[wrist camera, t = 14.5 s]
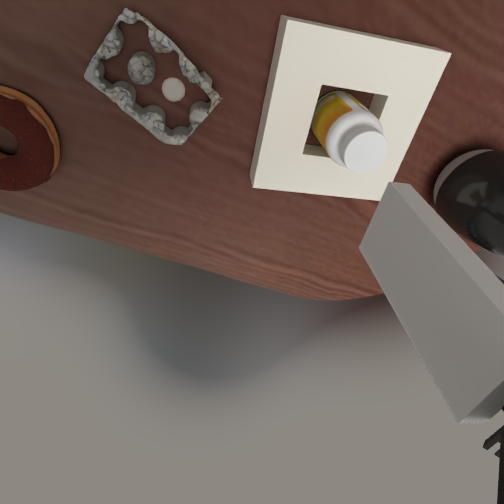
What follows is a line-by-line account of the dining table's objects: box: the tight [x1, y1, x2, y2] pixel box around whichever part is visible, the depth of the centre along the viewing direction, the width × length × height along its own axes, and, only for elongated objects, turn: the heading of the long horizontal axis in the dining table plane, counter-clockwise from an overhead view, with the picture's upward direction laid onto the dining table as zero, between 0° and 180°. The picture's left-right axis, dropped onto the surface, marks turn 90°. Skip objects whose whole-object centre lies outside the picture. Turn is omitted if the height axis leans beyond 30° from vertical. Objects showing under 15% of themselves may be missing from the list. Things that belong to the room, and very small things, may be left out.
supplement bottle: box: [311, 91, 388, 174], centre depth 36 cm, size 5×5×10 cm
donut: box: [0, 86, 60, 191], centre depth 35 cm, size 10×10×4 cm
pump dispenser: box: [434, 149, 504, 257], centre depth 41 cm, size 10×10×15 cm
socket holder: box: [250, 15, 452, 201], centre depth 39 cm, size 16×16×3 cm
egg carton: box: [84, 8, 222, 145], centre depth 34 cm, size 11×8×4 cm
